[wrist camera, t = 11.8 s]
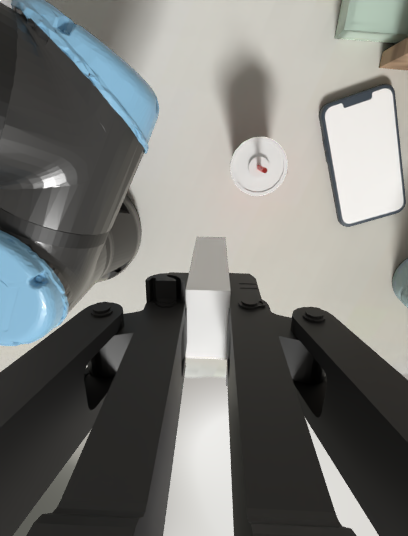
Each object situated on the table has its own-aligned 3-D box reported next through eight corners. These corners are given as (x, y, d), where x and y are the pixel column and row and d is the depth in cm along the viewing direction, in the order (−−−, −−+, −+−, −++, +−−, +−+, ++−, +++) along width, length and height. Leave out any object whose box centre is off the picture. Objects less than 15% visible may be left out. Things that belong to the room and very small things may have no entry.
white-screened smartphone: (402, 208, 44) (388, 82, 39) (408, 210, 43) (395, 79, 37) (336, 226, 46) (315, 107, 40) (340, 229, 44) (318, 106, 39)
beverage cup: (232, 191, 44) (237, 210, 31) (224, 144, 42) (225, 143, 29) (277, 181, 43) (302, 196, 30) (270, 133, 41) (294, 126, 28)
